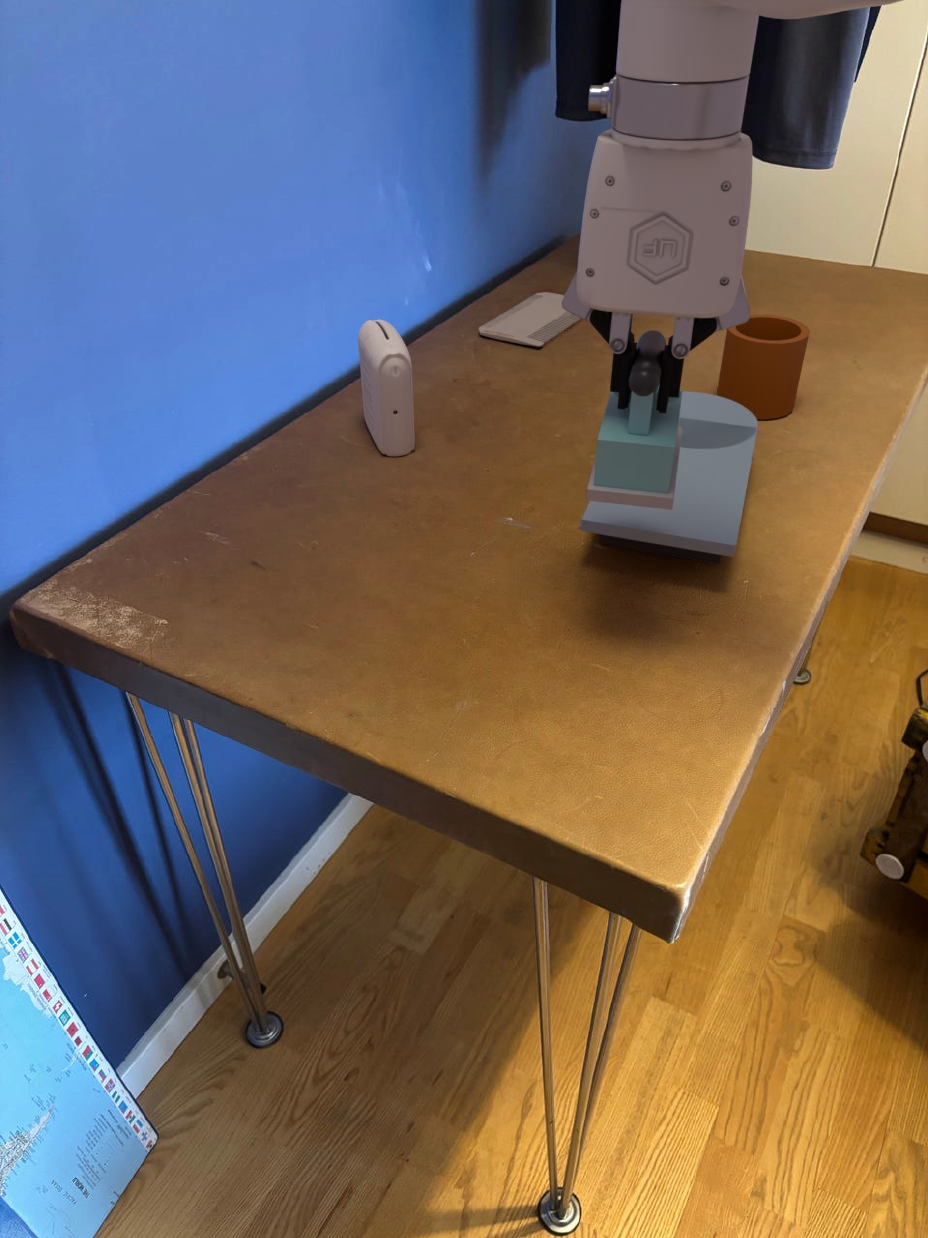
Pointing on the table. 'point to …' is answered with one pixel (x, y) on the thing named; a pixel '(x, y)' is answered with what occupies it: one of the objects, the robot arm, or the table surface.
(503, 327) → the grooming comb
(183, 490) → the table surface
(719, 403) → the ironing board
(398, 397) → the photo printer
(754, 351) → the brown cup
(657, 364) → the iron
